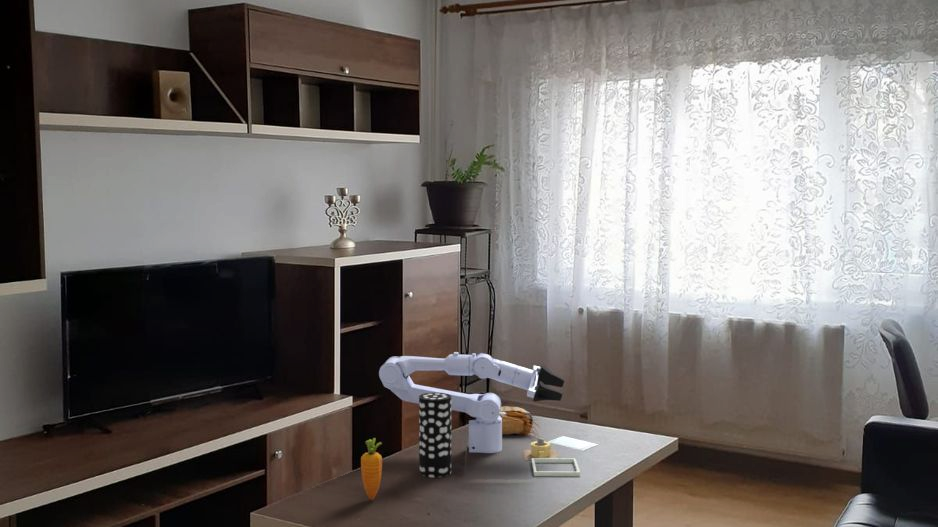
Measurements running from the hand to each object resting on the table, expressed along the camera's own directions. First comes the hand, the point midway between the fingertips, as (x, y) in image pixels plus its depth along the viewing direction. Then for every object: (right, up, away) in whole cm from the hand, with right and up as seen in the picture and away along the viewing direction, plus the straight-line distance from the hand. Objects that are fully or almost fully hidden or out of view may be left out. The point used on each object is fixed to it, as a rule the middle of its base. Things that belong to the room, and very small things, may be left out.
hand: (562, 390), depth 254 cm
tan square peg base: (-6, -18, -2) cm, 19 cm away
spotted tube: (-34, -19, -14) cm, 42 cm away
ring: (-6, -17, -2) cm, 18 cm away
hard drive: (+4, -18, +9) cm, 20 cm away
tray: (-3, -19, -14) cm, 24 cm away
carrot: (-49, -21, -35) cm, 64 cm away
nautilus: (-13, -16, +20) cm, 29 cm away
